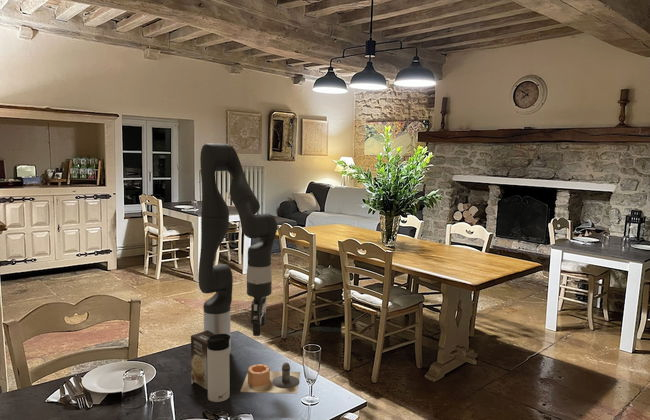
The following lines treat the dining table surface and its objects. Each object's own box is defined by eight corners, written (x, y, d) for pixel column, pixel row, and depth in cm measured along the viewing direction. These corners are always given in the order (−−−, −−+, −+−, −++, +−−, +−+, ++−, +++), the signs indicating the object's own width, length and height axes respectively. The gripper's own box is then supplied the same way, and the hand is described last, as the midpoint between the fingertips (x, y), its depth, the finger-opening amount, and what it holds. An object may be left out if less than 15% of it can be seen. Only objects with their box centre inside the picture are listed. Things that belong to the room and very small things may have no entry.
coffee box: (190, 384, 149) (189, 335, 147) (207, 377, 154) (207, 329, 152) (206, 394, 143) (206, 343, 141) (224, 387, 148) (224, 337, 146)
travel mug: (225, 408, 136) (225, 340, 133) (204, 405, 137) (203, 338, 135) (234, 397, 142) (233, 332, 140) (213, 394, 143) (212, 330, 141)
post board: (240, 396, 142) (240, 371, 142) (248, 374, 156) (248, 352, 155) (297, 398, 142) (297, 373, 141) (300, 376, 156) (301, 353, 155)
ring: (246, 385, 146) (246, 373, 145) (250, 375, 152) (250, 364, 152) (267, 386, 146) (267, 373, 145) (270, 376, 152) (270, 364, 152)
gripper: (251, 273, 152) (251, 321, 154) (242, 285, 138) (242, 338, 140) (274, 273, 152) (274, 322, 154) (268, 286, 138) (267, 339, 140)
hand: (259, 330), depth 147 cm, fingers open, 8 cm apart
